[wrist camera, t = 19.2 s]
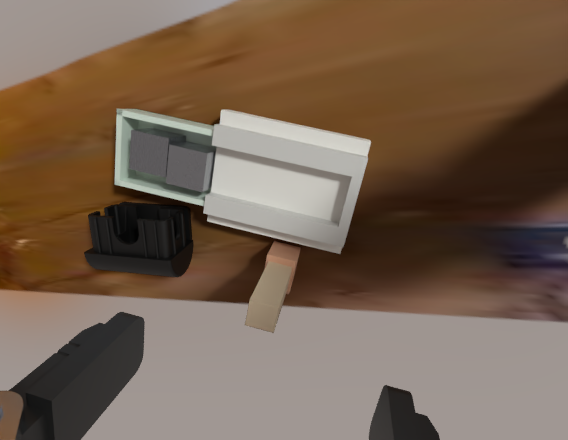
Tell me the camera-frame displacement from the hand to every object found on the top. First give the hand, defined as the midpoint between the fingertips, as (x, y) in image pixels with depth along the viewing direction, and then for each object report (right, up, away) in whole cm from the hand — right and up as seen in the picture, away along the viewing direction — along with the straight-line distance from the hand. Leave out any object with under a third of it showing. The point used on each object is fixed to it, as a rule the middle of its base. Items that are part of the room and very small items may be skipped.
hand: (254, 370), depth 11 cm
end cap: (-15, +4, +32) cm, 35 cm away
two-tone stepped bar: (+1, 0, +30) cm, 30 cm away
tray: (-11, +12, +28) cm, 32 cm away
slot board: (+1, +9, +27) cm, 28 cm away
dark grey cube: (-10, +12, +25) cm, 30 cm away
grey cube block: (-8, +11, +27) cm, 30 cm away
